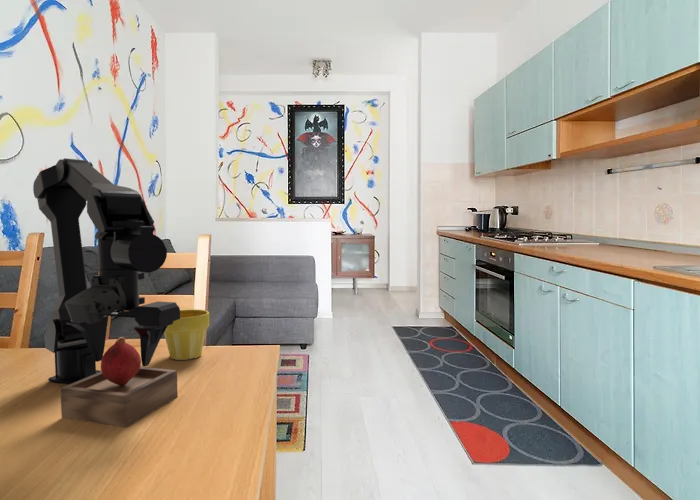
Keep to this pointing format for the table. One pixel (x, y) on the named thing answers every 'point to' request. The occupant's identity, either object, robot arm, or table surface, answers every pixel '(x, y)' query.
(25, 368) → the table surface
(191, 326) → the plant pot
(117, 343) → the onion
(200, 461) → the table surface
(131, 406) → the walnut base
